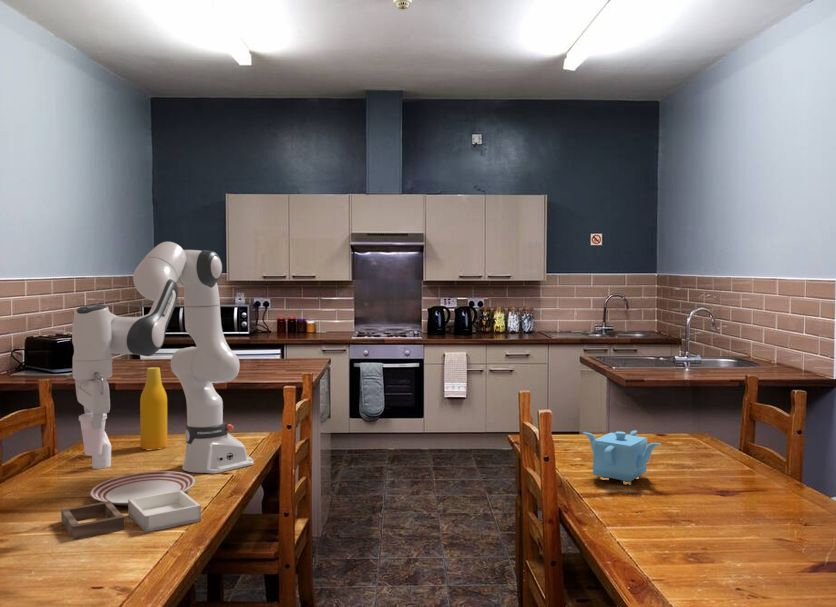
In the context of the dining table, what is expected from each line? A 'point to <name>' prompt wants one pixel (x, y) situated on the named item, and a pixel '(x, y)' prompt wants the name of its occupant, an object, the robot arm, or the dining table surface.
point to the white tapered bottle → (103, 455)
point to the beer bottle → (153, 412)
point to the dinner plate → (141, 486)
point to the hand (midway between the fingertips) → (93, 426)
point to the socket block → (94, 527)
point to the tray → (164, 510)
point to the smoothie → (92, 434)
